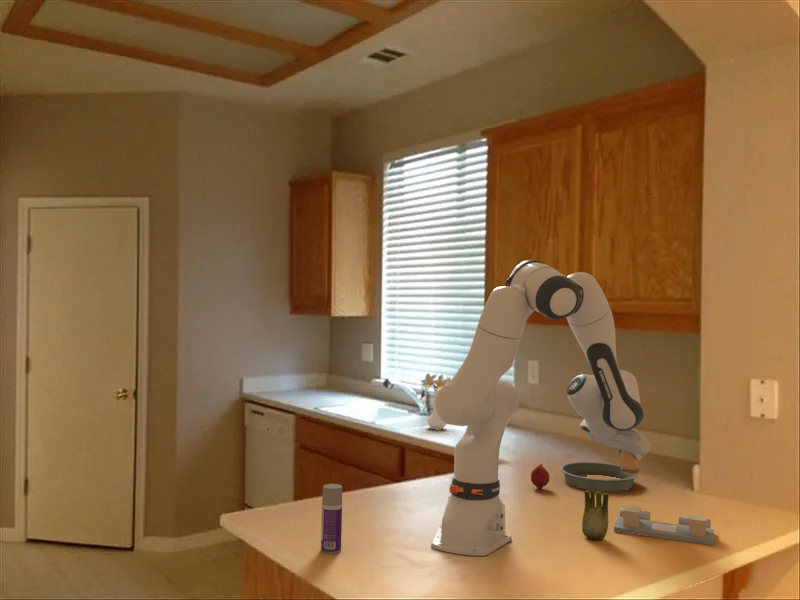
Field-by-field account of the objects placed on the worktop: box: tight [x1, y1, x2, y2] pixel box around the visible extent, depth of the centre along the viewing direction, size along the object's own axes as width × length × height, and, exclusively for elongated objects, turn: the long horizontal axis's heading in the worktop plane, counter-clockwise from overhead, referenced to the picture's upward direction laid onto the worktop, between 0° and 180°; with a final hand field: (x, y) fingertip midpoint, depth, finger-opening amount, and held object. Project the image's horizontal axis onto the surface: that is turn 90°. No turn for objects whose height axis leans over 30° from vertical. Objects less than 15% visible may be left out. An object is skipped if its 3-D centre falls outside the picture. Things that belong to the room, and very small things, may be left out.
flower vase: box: [421, 373, 452, 431], centre depth 332 cm, size 13×18×25 cm
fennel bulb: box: [581, 490, 610, 541], centre depth 182 cm, size 6×5×12 cm
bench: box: [613, 504, 716, 546], centre depth 188 cm, size 10×24×5 cm, turn 68°
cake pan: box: [560, 461, 639, 492], centre depth 239 cm, size 25×25×4 cm
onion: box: [530, 463, 551, 490], centre depth 229 cm, size 6×6×8 cm
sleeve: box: [620, 450, 640, 475], centre depth 205 cm, size 5×5×9 cm
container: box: [320, 483, 343, 555], centre depth 169 cm, size 5×5×15 cm
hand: (631, 455), depth 205 cm, fingers closed on sleeve, 5 cm apart
